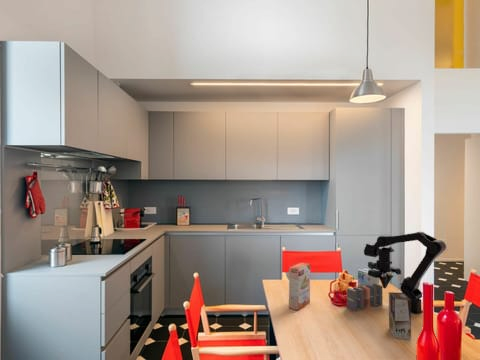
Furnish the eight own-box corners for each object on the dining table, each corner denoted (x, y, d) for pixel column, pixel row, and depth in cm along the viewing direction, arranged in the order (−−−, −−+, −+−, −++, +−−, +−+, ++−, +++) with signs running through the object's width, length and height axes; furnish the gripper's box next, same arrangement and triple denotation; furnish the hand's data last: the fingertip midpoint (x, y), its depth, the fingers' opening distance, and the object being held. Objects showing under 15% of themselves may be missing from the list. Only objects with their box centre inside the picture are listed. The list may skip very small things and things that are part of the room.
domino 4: (376, 306, 159) (376, 287, 159) (374, 307, 158) (373, 287, 158) (368, 303, 163) (368, 284, 164) (366, 303, 163) (366, 284, 163)
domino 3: (370, 308, 157) (370, 288, 157) (367, 308, 156) (367, 288, 156) (362, 304, 161) (362, 285, 162) (360, 305, 161) (359, 286, 161)
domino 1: (356, 310, 153) (356, 290, 153) (354, 311, 152) (354, 291, 153) (349, 307, 158) (349, 287, 158) (346, 307, 157) (346, 288, 157)
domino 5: (382, 305, 161) (382, 286, 161) (380, 305, 160) (380, 286, 160) (374, 302, 165) (374, 283, 165) (372, 302, 165) (372, 283, 165)
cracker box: (299, 311, 153) (299, 269, 153) (288, 308, 156) (288, 267, 157) (310, 302, 164) (310, 263, 164) (300, 300, 167) (300, 261, 168)
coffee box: (411, 340, 124) (411, 300, 124) (394, 338, 125) (394, 298, 126) (404, 329, 133) (404, 292, 133) (388, 328, 134) (388, 291, 135)
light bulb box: (357, 286, 190) (357, 269, 191) (365, 285, 193) (365, 268, 194) (371, 292, 181) (371, 273, 181) (379, 290, 184) (379, 272, 184)
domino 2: (363, 309, 155) (363, 289, 155) (361, 310, 154) (360, 290, 155) (356, 306, 160) (355, 286, 160) (353, 306, 159) (353, 287, 159)
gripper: (384, 254, 177) (384, 281, 176) (359, 257, 169) (360, 285, 169) (401, 258, 166) (401, 287, 166) (376, 262, 159) (376, 292, 158)
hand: (384, 288), depth 165 cm, fingers closed
